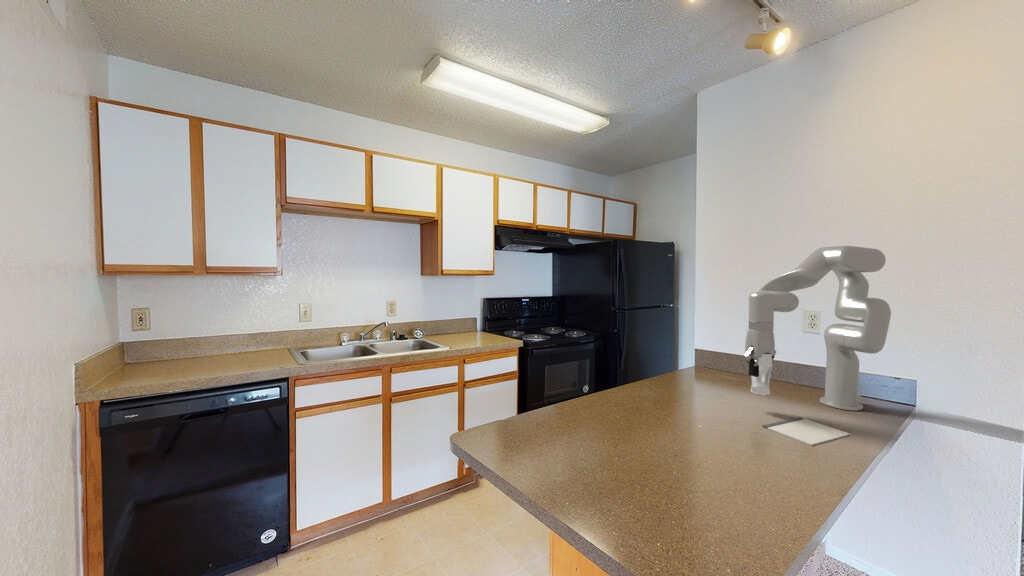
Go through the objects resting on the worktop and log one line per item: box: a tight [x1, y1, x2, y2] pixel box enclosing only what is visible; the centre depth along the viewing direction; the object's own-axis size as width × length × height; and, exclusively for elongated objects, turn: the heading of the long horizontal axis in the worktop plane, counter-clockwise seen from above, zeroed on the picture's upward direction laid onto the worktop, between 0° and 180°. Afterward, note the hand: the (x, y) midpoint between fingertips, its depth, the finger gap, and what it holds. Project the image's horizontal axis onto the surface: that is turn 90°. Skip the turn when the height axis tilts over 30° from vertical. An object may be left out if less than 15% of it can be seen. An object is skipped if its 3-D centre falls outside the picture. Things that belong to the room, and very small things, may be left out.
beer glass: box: [749, 353, 773, 396], centre depth 135 cm, size 7×7×15 cm
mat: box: [762, 416, 851, 446], centre depth 119 cm, size 20×14×1 cm
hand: (760, 374), depth 135 cm, fingers closed on beer glass, 6 cm apart
